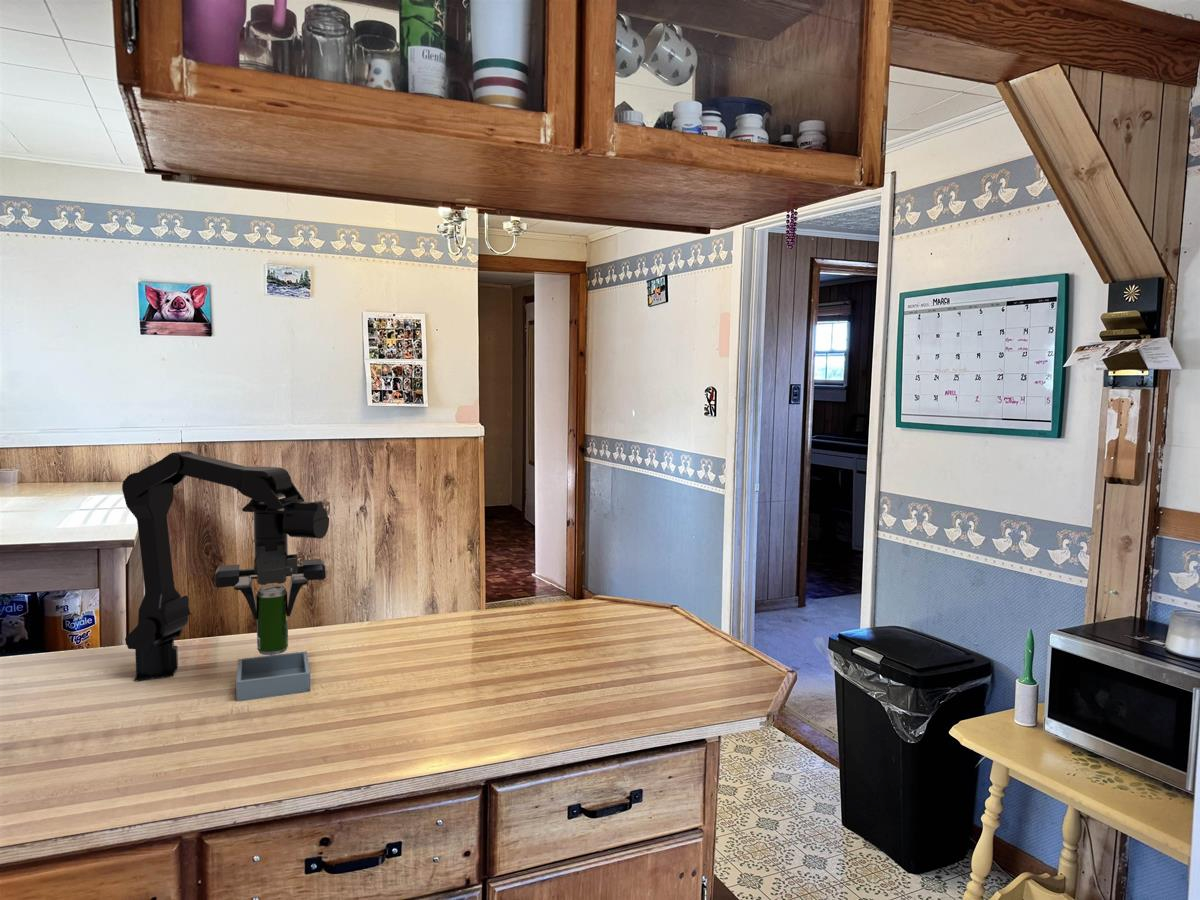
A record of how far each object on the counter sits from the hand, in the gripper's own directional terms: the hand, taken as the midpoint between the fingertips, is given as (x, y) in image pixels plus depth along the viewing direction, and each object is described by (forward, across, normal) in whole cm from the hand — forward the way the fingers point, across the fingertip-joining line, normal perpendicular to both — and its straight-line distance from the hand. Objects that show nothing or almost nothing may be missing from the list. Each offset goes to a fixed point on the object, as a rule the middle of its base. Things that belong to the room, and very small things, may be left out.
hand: (272, 617), depth 145 cm
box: (+13, 0, 0) cm, 13 cm away
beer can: (+7, 0, 0) cm, 7 cm away
